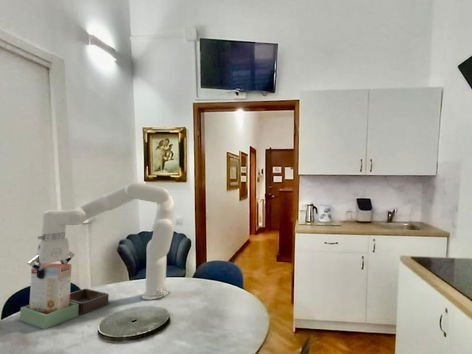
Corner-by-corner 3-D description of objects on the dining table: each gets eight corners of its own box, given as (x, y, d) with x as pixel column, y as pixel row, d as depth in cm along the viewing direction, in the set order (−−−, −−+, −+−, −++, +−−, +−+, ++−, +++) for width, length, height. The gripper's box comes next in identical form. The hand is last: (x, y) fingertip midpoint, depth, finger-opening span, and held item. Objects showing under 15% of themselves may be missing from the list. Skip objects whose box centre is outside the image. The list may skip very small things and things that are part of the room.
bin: (78, 316, 116) (78, 303, 116) (44, 329, 105) (45, 315, 105) (53, 308, 123) (54, 296, 123) (19, 320, 112) (20, 307, 112)
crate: (109, 303, 128) (109, 293, 128) (81, 314, 117) (82, 303, 117) (85, 297, 135) (85, 288, 135) (57, 307, 124) (58, 297, 124)
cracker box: (70, 308, 116) (72, 263, 117) (56, 315, 110) (58, 267, 111) (43, 307, 118) (46, 262, 118) (28, 313, 112) (30, 266, 112)
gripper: (32, 241, 106) (29, 283, 105) (81, 234, 122) (79, 270, 121) (22, 239, 109) (20, 281, 108) (72, 232, 125) (70, 268, 124)
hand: (51, 275), depth 115 cm, fingers closed on cracker box, 6 cm apart
